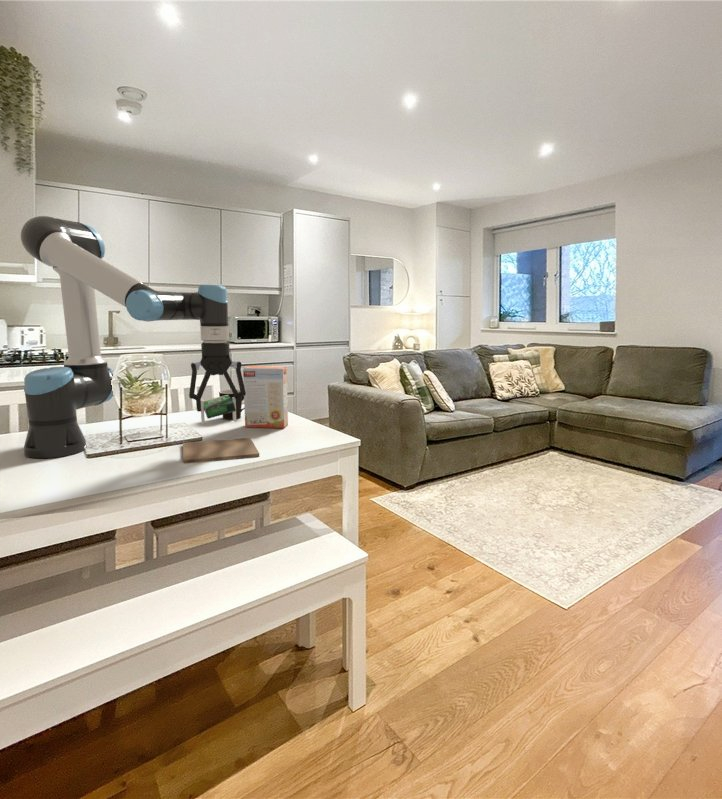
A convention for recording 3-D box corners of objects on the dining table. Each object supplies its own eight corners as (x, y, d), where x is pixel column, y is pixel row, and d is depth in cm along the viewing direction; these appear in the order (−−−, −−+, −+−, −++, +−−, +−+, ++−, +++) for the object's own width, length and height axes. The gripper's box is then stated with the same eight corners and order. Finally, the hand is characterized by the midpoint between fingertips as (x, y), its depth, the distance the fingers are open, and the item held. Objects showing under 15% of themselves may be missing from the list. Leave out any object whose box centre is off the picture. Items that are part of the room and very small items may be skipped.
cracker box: (288, 424, 176) (287, 366, 173) (284, 429, 170) (283, 368, 167) (250, 423, 178) (248, 365, 174) (244, 427, 172) (242, 367, 168)
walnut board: (183, 463, 132) (183, 460, 132) (182, 445, 149) (182, 442, 149) (259, 456, 139) (259, 453, 139) (250, 440, 156) (250, 437, 156)
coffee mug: (215, 419, 183) (214, 392, 182) (228, 414, 191) (227, 389, 190) (243, 421, 180) (242, 394, 178) (254, 417, 188) (254, 391, 186)
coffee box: (203, 409, 133) (201, 401, 145) (206, 419, 134) (204, 410, 146) (233, 401, 135) (228, 393, 148) (236, 411, 136) (231, 403, 148)
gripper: (175, 343, 131) (180, 427, 135) (255, 341, 138) (257, 421, 142) (175, 341, 138) (180, 421, 142) (251, 340, 145) (253, 416, 149)
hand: (219, 421), depth 142 cm, fingers closed on coffee box, 8 cm apart
